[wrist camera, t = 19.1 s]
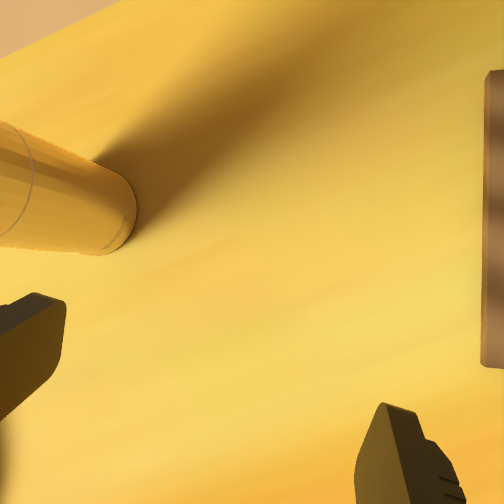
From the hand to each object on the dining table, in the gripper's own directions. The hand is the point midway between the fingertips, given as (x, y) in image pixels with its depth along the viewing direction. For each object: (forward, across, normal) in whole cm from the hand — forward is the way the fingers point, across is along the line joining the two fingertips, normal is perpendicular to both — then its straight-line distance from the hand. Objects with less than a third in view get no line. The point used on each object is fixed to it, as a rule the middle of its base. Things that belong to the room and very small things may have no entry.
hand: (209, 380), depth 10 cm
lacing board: (+28, -22, -5) cm, 36 cm away
